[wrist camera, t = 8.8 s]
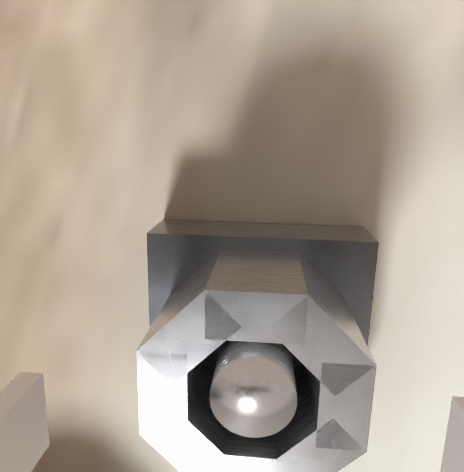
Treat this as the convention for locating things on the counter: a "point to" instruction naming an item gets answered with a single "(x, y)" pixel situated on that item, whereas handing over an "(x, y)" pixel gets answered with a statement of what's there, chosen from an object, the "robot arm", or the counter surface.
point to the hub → (265, 331)
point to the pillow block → (256, 353)
